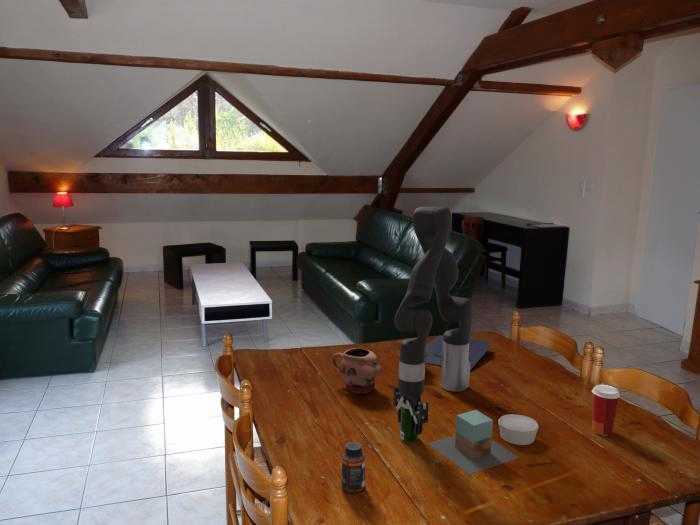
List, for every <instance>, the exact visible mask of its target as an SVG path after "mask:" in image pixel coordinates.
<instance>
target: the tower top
mask: <svg viewBox="0 0 700 525" xmlns="http://www.w3.org/2000/svg"><path fill="white" fill-rule="evenodd" d="M455 421H456V423H455V424H456V425H455V426H456V427H455V433H456V432H458V433H459V434H460V435H462V436H463V437H465V438H466V439H468V440H469V441H471V442H472V443H473V442H476V441H479V440H483V439H486V438H489V437H492V438H493V427H494V426H493V425H494V419H492V418H490V417H489V416H487V415H485V414H484V413H482V412H480V411H479V410H477V409H474V410H470V411H467V412H464V413H459V414H456V420H455Z"/></svg>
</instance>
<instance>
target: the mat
mask: <svg viewBox="0 0 700 525" xmlns="http://www.w3.org/2000/svg"><path fill="white" fill-rule="evenodd" d="M455 439H456V434H455V435H451V436H448V437H445V438H441V439H438V440H435V441H432V442H428V443H427V445H429V446H430V447H432V448H433V449H434V450H436V452H438V453H439V454H441V455H442V456H443V457H445V458H447V459H448V460H449V461H450V462H451V463H453V464H454V465H455V466H456V467H458V468H460V469H461V470H462V471H463V472H464V473H466V474H467V475H473V474H476V473H479V472H482V471H485V470H488V469H490V468H495V467H497V466H500V465H503V464H505V463H509V462H512V461H515V460H518V459H520V457H519V456H518V455H516V454H515V453H513V452H512V451H510V449H509V450H508V449H507V448H505V447H504V446H503V445H502V444H499V443H498V442H496V441H494V440H493V439H492V443H491V453H490V454H487V455H484V456H480V457H477V458H474V459H470V458H469V457H467V456H466V455H465V454H463V453H462V452H460V451H459V450H458V449H456V448H455Z"/></svg>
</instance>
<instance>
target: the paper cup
mask: <svg viewBox="0 0 700 525" xmlns="http://www.w3.org/2000/svg"><path fill="white" fill-rule="evenodd" d="M591 392H592V411H591V412H592V414H591V417H592V418H591V431H592V430H593V431H594V432H595V433H597V434H600V435H611V434H613V429H614V425H615V420H616V415H617V410H618V404H619V398H620V397H621V394H620V392H619V389H618V388H616V387H614V386H611V385H607V384H596V385H595V386H594V387H593V388H592V390H591ZM595 433H594V434H595ZM597 434H596V435H597ZM611 436H612V435H611Z"/></svg>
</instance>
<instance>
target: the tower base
mask: <svg viewBox="0 0 700 525" xmlns="http://www.w3.org/2000/svg"><path fill="white" fill-rule="evenodd" d="M455 435H456V439H455V448H456V449H458V450H459V451H460V452H462V453H463V454H465V455H466V456H467V457H469V458H470V459H474V458H477V457H480V456H484V455H487V454H490V453H491V443H492V440H493V436H492V437H489V438H486V439H483V440H479V441H476V442H473V443H472V442H471V441H469V440H468V439H466V438H465V437H463V436H462V435H460V434H459V433H458V432H456V431H455Z"/></svg>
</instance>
